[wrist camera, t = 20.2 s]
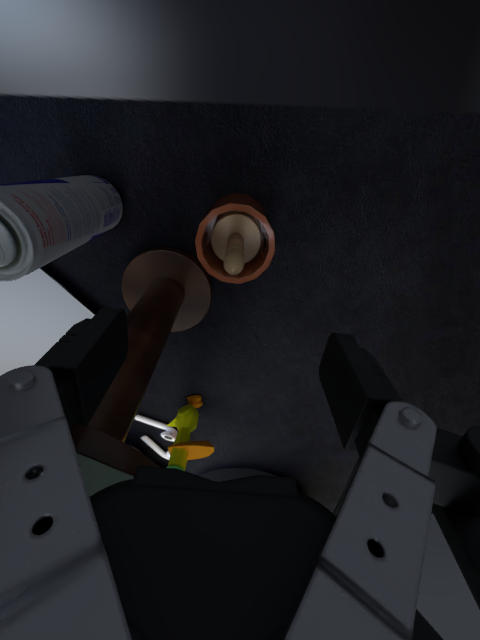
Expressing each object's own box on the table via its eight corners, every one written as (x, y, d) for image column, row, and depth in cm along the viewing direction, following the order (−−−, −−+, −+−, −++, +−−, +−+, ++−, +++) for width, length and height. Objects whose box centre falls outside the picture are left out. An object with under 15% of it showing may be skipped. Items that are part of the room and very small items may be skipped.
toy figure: (217, 388, 41) (207, 468, 30) (221, 407, 43) (213, 488, 32) (170, 393, 41) (145, 472, 31) (176, 410, 43) (155, 492, 33)
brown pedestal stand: (108, 227, 30) (-245, 410, 8) (228, 242, 31) (191, 449, 9) (118, 329, 36) (-71, 589, 15) (218, 340, 37) (181, 605, 15)
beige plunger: (216, 201, 28) (200, 227, 18) (263, 207, 29) (274, 237, 18) (212, 247, 31) (196, 295, 20) (256, 253, 31) (262, 302, 20)
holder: (207, 189, 28) (196, 198, 22) (273, 197, 29) (282, 210, 22) (203, 253, 31) (193, 278, 25) (263, 260, 32) (268, 287, 25)
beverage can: (67, 174, 28) (-90, 189, 15) (120, 174, 28) (10, 189, 15) (81, 228, 30) (-42, 283, 17) (130, 229, 30) (43, 283, 17)
